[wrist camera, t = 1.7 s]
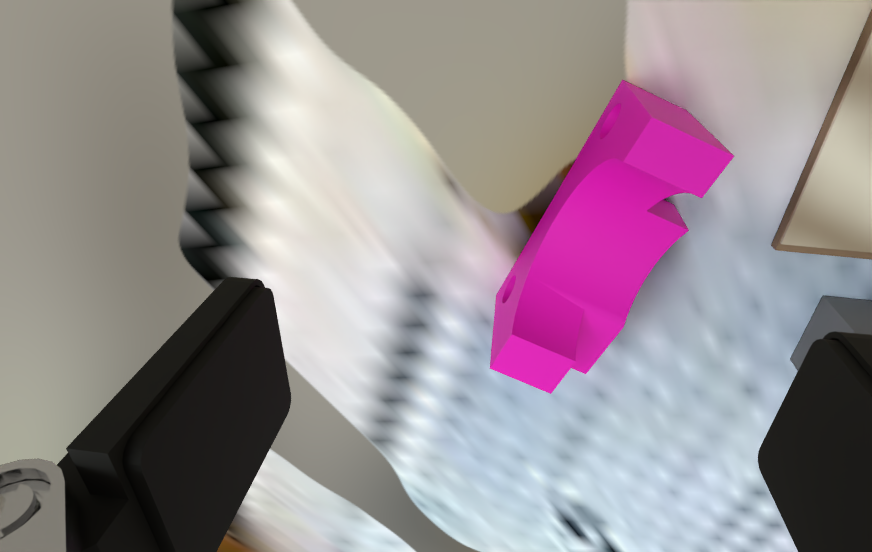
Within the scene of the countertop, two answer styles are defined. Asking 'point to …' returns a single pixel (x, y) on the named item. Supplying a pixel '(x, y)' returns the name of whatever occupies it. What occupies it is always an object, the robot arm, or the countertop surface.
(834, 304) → the die
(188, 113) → the countertop surface
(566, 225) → the toy block
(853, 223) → the striped panel
